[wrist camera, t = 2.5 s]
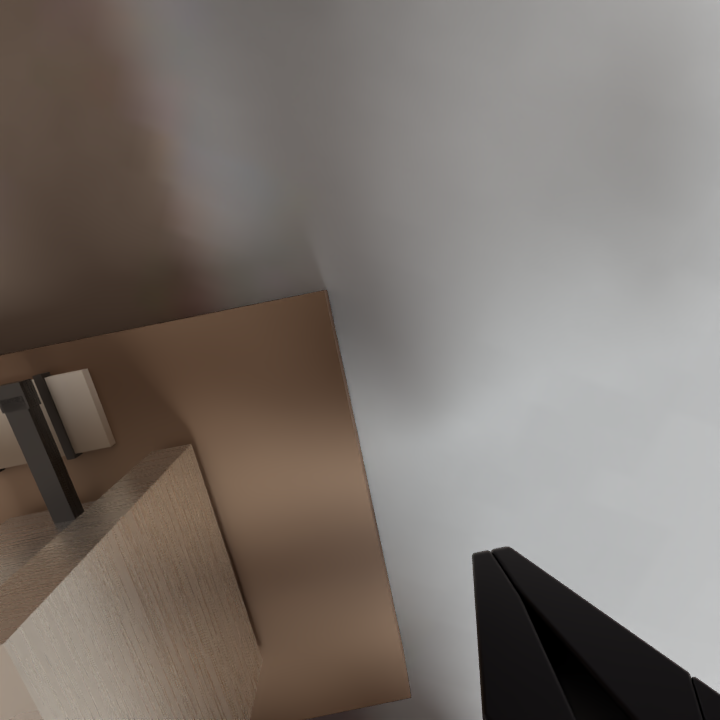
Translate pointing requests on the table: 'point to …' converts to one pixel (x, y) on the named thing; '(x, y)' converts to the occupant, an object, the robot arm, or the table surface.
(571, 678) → the robot arm
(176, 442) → the gauge base
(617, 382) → the table surface
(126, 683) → the gauge carriage
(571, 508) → the table surface
